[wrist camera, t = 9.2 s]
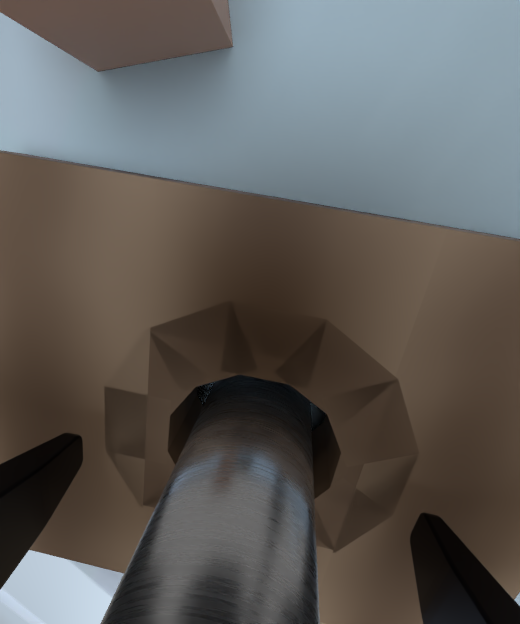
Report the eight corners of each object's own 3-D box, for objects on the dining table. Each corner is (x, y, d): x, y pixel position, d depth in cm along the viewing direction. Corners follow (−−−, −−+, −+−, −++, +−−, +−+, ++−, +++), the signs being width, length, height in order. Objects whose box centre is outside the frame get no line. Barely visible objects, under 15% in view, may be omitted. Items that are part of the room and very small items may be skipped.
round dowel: (319, 360, 12) (352, 660, 4) (299, 439, 13) (296, 780, 5) (221, 341, 12) (81, 591, 4) (211, 421, 13) (88, 723, 6)
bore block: (609, 254, 9) (741, 279, 6) (437, 568, 14) (471, 659, 11) (22, 153, 10) (-82, 137, 8) (52, 477, 15) (-4, 541, 12)
